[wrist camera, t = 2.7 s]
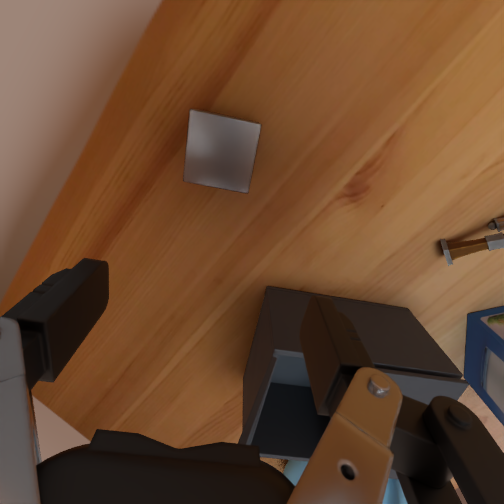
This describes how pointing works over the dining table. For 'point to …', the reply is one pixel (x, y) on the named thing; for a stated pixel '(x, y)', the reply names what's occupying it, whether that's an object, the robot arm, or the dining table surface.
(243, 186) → the block
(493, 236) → the wooden post with brackets
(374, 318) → the carton
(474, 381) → the milk carton
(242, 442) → the flap
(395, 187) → the dining table surface
